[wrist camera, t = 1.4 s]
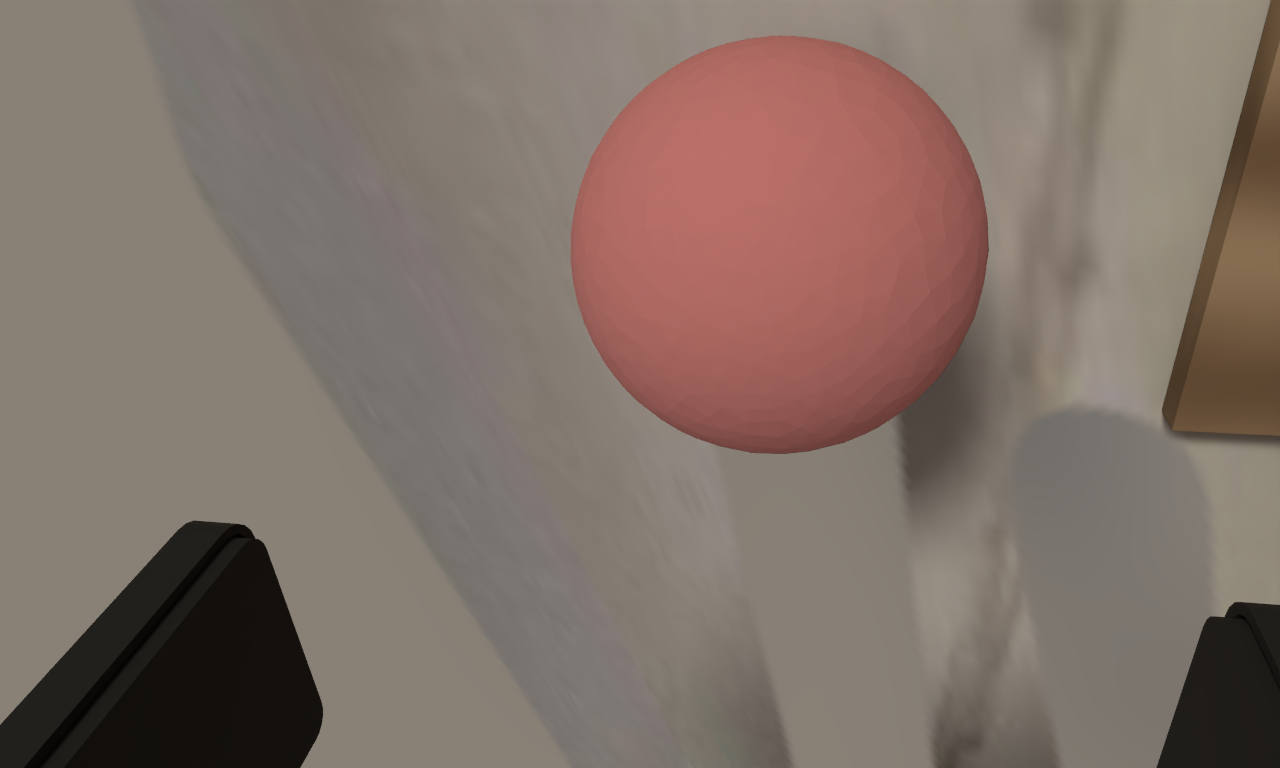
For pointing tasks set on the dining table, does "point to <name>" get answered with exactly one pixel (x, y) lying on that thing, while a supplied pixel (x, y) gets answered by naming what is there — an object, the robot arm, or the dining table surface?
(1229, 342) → the bulb holder
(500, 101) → the dining table surface
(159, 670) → the robot arm
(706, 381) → the light bulb
